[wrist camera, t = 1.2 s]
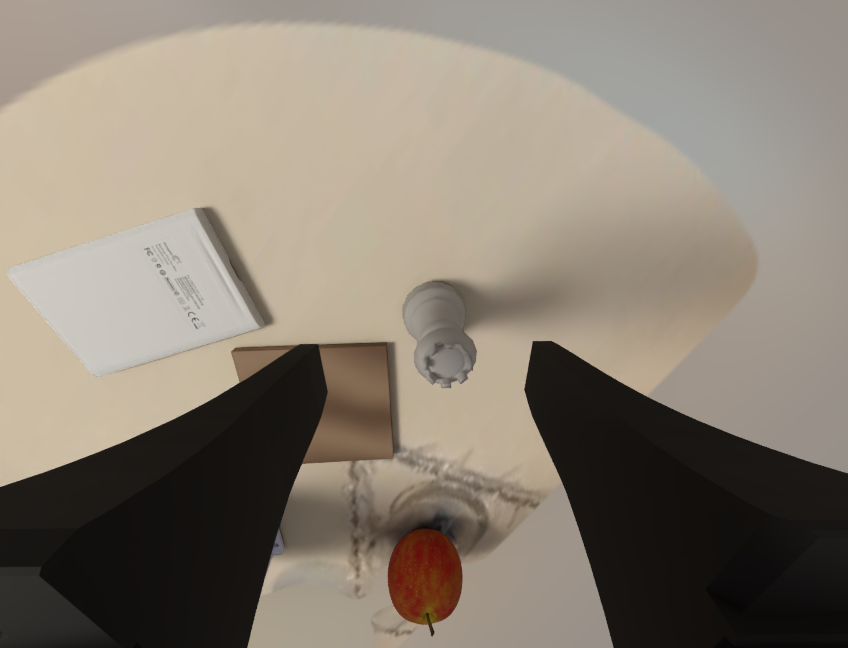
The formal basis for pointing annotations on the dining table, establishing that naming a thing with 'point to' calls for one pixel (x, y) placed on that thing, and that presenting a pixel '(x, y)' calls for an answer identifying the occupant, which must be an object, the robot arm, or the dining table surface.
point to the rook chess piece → (439, 333)
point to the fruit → (425, 577)
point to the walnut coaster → (342, 399)
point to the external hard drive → (140, 293)
